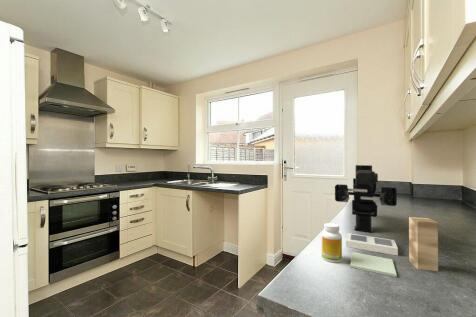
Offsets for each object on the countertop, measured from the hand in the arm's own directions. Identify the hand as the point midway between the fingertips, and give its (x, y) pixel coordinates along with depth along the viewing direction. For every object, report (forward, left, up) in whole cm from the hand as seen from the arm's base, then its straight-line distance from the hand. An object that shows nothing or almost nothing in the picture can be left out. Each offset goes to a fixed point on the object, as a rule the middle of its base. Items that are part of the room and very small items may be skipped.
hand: (364, 197), depth 71 cm
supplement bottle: (+13, -8, -17) cm, 23 cm away
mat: (+11, +2, -17) cm, 20 cm away
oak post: (+5, +14, -17) cm, 22 cm away
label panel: (-5, +2, -17) cm, 17 cm away
